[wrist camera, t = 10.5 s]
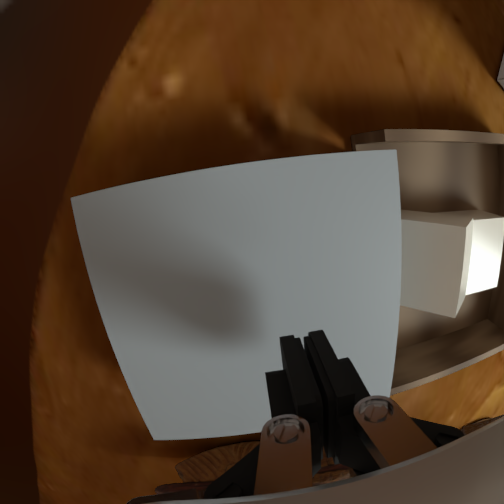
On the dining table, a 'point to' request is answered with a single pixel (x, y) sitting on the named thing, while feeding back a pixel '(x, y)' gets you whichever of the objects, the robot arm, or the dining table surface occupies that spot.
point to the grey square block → (244, 280)
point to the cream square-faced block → (483, 249)
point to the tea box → (501, 73)
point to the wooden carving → (223, 458)
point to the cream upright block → (435, 261)
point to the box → (445, 200)
